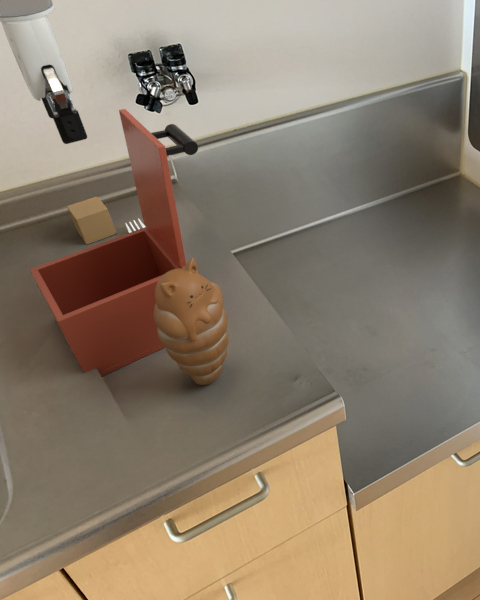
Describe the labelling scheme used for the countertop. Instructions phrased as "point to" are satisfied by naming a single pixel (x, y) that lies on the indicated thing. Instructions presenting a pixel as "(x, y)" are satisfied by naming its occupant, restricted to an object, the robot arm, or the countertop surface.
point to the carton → (92, 220)
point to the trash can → (107, 299)
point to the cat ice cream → (192, 322)
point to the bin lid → (157, 179)
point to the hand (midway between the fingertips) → (68, 127)
